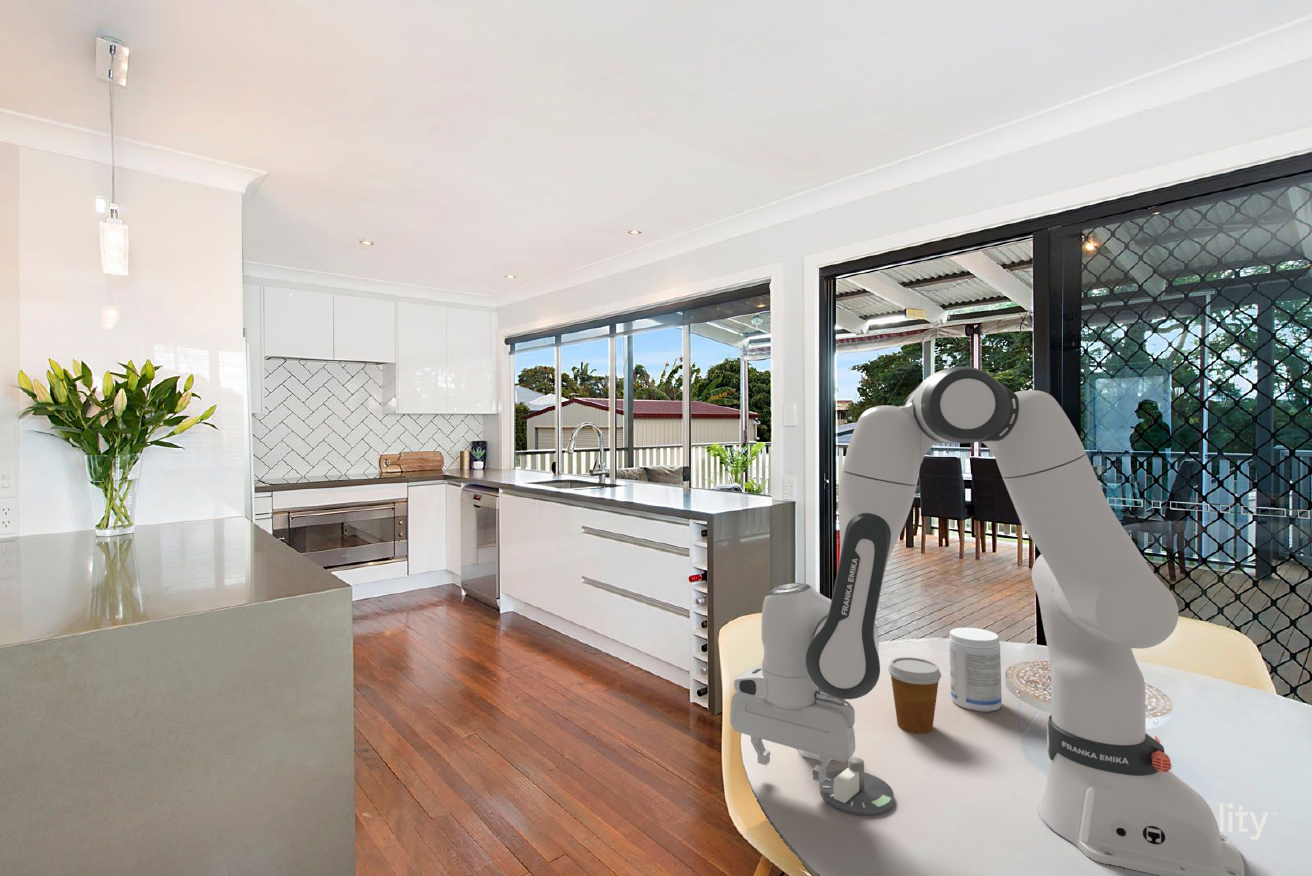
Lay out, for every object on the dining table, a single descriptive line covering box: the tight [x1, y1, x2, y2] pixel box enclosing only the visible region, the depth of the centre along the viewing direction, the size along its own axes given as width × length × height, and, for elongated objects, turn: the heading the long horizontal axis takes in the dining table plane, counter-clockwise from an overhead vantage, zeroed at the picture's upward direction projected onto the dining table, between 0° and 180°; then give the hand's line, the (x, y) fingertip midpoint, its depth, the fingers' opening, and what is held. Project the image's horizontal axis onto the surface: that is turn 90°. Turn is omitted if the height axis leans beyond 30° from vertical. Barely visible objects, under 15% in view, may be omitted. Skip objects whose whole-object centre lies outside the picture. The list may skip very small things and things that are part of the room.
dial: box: [819, 769, 895, 817], centre depth 99 cm, size 11×11×1 cm
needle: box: [834, 756, 865, 803], centre depth 98 cm, size 6×2×4 cm, turn 135°
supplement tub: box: [948, 627, 1003, 713], centre depth 133 cm, size 10×10×15 cm
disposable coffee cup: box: [887, 656, 942, 735], centre depth 123 cm, size 10×10×12 cm
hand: (790, 771), depth 102 cm, fingers open, 8 cm apart
